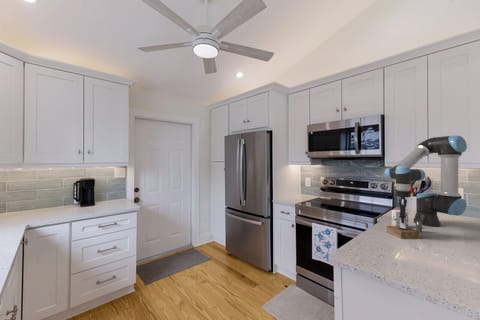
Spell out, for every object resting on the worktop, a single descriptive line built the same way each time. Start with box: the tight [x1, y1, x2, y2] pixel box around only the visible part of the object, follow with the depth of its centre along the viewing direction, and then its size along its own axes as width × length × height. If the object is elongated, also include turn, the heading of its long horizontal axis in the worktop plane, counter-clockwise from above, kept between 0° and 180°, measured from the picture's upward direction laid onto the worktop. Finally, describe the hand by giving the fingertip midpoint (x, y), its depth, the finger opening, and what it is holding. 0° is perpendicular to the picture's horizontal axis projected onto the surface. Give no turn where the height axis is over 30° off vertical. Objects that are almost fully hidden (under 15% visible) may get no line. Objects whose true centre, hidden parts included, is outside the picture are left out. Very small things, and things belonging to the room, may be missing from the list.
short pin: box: [415, 221, 423, 234], centre depth 139 cm, size 3×3×7 cm
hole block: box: [386, 225, 421, 240], centre depth 132 cm, size 12×12×4 cm
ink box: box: [391, 209, 409, 227], centre depth 149 cm, size 9×5×12 cm, turn 84°
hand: (402, 226), depth 132 cm, fingers open, 5 cm apart
